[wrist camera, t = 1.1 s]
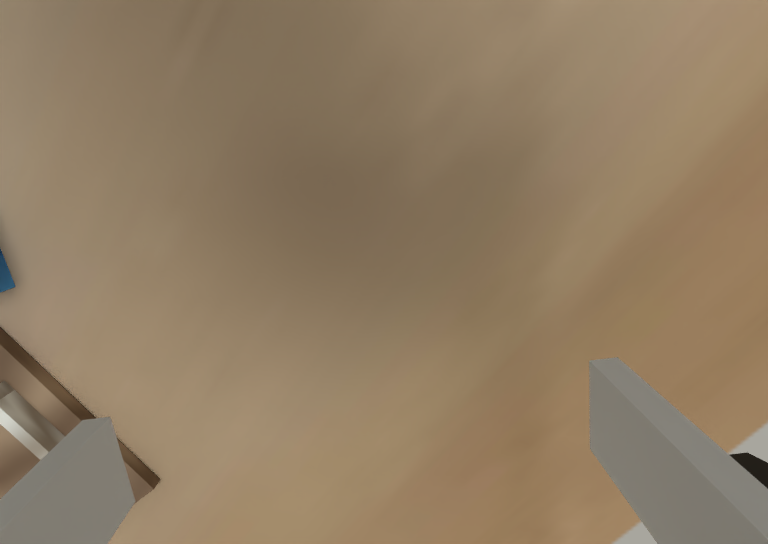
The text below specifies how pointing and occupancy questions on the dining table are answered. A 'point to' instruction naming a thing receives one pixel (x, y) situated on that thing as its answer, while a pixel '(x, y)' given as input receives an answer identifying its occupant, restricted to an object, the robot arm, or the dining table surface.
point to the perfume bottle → (5, 275)
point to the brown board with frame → (43, 420)
